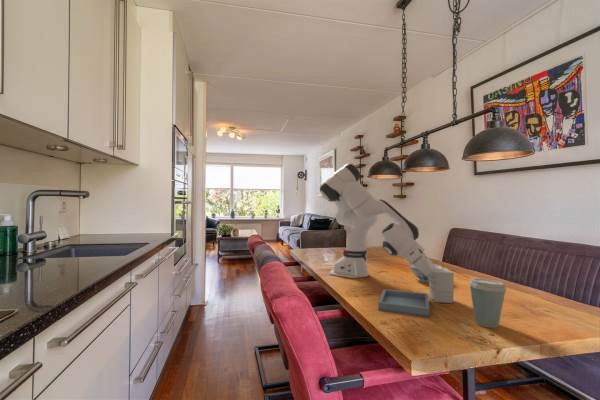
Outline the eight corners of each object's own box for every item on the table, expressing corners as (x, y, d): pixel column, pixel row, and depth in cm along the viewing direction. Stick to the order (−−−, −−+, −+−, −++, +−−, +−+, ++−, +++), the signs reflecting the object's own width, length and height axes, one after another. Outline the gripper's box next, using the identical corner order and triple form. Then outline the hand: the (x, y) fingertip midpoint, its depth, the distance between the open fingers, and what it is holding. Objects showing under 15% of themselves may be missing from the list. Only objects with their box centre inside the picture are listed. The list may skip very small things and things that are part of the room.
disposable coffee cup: (471, 315, 102) (471, 274, 103) (508, 322, 96) (507, 279, 96) (466, 325, 94) (466, 280, 94) (506, 334, 87) (505, 286, 88)
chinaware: (404, 279, 152) (404, 264, 152) (424, 275, 158) (424, 262, 158) (427, 286, 138) (427, 270, 138) (448, 282, 144) (448, 267, 144)
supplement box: (446, 297, 122) (446, 268, 122) (453, 303, 114) (454, 272, 115) (428, 296, 123) (429, 267, 123) (435, 302, 115) (435, 271, 115)
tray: (378, 310, 108) (378, 302, 108) (383, 295, 125) (383, 289, 125) (429, 317, 101) (429, 308, 101) (428, 300, 118) (427, 293, 118)
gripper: (409, 254, 133) (432, 276, 129) (407, 262, 114) (434, 289, 110) (419, 245, 131) (443, 267, 127) (419, 252, 112) (447, 278, 108)
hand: (439, 277), depth 118 cm, fingers closed on supplement box, 8 cm apart
